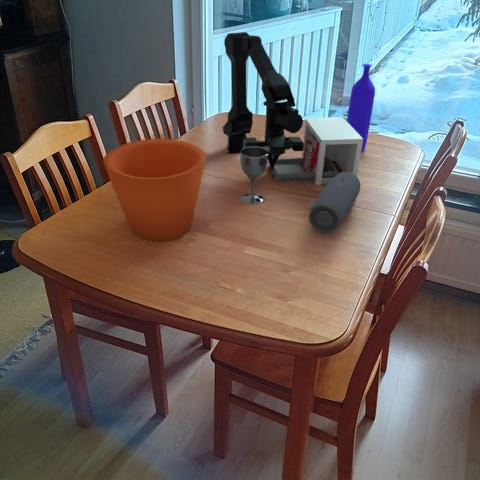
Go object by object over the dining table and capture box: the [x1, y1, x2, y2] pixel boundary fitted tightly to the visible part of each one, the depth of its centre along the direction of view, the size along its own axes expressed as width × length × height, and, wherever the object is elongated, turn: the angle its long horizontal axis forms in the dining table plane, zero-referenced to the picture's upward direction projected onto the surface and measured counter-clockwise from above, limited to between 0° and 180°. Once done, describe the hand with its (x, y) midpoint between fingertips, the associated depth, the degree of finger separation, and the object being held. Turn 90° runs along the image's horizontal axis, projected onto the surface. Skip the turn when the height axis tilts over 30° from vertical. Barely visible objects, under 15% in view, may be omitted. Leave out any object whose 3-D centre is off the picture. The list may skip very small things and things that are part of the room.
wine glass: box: [239, 146, 269, 205], centre depth 138 cm, size 8×8×15 cm
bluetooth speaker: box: [308, 171, 361, 234], centre depth 132 cm, size 23×9×10 cm, turn 155°
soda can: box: [302, 135, 327, 172], centre depth 156 cm, size 7×7×12 cm
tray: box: [271, 157, 339, 182], centre depth 158 cm, size 20×12×2 cm, turn 97°
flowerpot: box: [102, 138, 207, 243], centre depth 123 cm, size 25×25×20 cm
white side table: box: [301, 116, 363, 186], centre depth 156 cm, size 13×20×15 cm, turn 8°
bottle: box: [346, 63, 376, 152], centre depth 170 cm, size 8×8×30 cm
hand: (271, 168), depth 157 cm, fingers closed
